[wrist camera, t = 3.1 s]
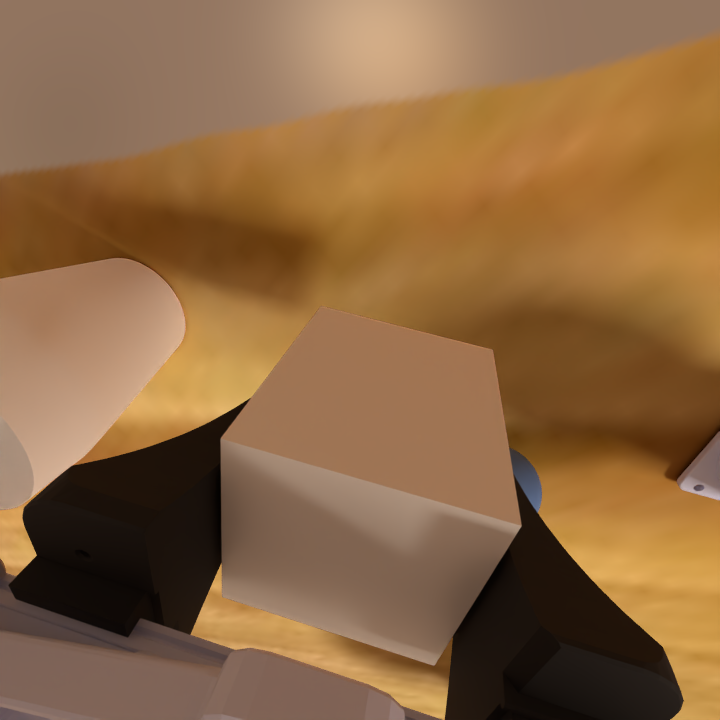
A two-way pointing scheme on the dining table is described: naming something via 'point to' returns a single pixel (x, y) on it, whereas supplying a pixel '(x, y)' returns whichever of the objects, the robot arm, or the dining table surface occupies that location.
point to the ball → (526, 478)
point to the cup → (75, 362)
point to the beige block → (369, 485)
